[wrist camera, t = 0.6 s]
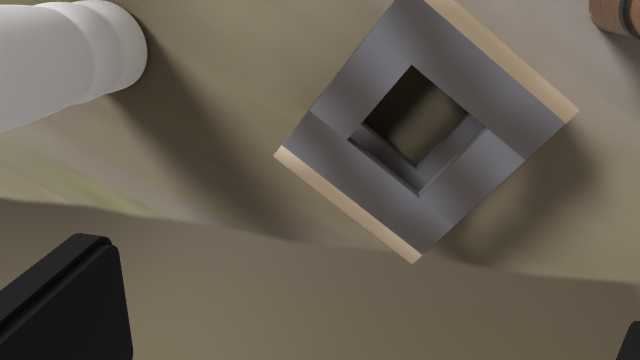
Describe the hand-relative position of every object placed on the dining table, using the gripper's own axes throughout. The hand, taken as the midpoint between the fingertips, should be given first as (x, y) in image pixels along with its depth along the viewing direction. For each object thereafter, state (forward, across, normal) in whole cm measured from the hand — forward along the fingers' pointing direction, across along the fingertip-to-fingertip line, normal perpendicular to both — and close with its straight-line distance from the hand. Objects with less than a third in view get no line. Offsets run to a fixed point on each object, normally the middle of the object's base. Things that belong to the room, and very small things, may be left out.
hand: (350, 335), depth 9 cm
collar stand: (+30, -2, +3) cm, 30 cm away
